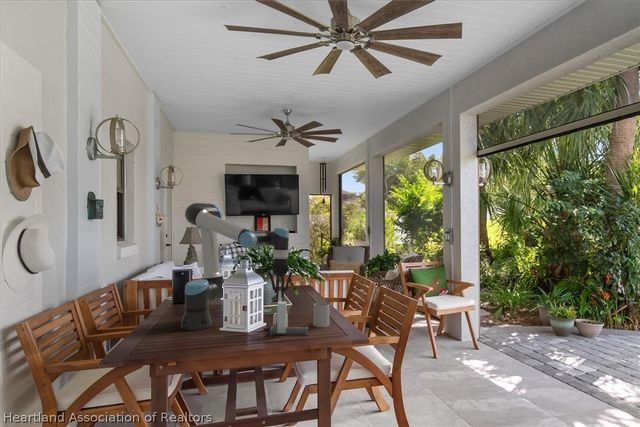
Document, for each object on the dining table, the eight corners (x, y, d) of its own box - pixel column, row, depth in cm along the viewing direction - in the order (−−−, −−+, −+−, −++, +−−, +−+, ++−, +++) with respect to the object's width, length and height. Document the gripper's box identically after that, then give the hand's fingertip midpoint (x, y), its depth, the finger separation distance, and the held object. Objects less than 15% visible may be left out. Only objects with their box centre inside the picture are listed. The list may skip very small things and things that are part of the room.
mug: (330, 327, 198) (330, 306, 198) (313, 327, 197) (313, 306, 197) (327, 321, 210) (328, 301, 210) (312, 321, 209) (312, 301, 209)
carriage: (277, 332, 184) (277, 303, 184) (278, 330, 188) (278, 301, 188) (285, 332, 184) (285, 303, 184) (286, 330, 188) (286, 301, 188)
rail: (270, 335, 184) (270, 329, 184) (270, 332, 188) (270, 326, 188) (308, 335, 184) (308, 329, 184) (308, 332, 188) (308, 326, 189)
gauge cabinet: (273, 330, 192) (273, 316, 192) (274, 326, 198) (274, 313, 198) (287, 330, 192) (287, 316, 192) (287, 326, 198) (287, 313, 199)
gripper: (267, 258, 192) (266, 305, 192) (293, 258, 192) (292, 305, 192) (268, 256, 199) (267, 302, 199) (293, 257, 200) (292, 302, 200)
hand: (279, 303), depth 196 cm, fingers closed
